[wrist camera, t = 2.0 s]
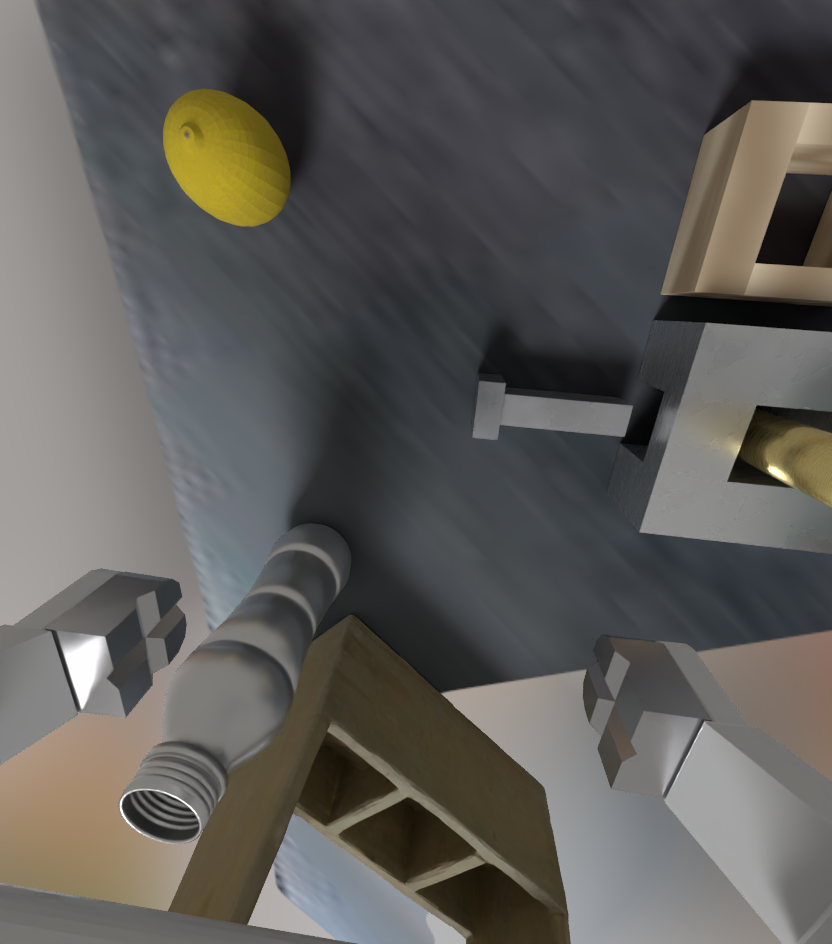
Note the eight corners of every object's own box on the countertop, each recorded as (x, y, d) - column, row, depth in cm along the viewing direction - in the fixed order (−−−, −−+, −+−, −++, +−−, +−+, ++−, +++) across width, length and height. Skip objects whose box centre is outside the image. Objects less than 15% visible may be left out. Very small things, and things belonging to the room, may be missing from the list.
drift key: (620, 385, 27) (642, 395, 24) (607, 436, 29) (625, 452, 26) (477, 372, 28) (479, 380, 25) (471, 423, 30) (472, 437, 26)
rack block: (900, 144, 22) (990, 109, 18) (832, 306, 25) (897, 306, 21) (703, 135, 22) (751, 100, 19) (660, 294, 25) (694, 291, 22)
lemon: (312, 237, 26) (253, 208, 19) (230, 235, 27) (140, 207, 19) (306, 130, 24) (237, 51, 17) (217, 130, 25) (111, 54, 17)
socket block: (855, 335, 25) (968, 342, 19) (776, 509, 29) (849, 555, 24) (653, 319, 26) (706, 322, 20) (606, 491, 30) (639, 532, 25)
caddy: (548, 786, 43) (706, 1650, 15) (470, 819, 46) (482, 1575, 19) (354, 609, 37) (34, 1504, 9) (280, 662, 40) (-115, 1431, 13)
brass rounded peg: (750, 401, 27) (982, 473, 15) (734, 444, 28) (937, 543, 16) (703, 397, 27) (895, 465, 15) (689, 439, 28) (856, 535, 16)
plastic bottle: (369, 533, 34) (258, 803, 15) (340, 592, 36) (215, 883, 18) (298, 500, 33) (94, 737, 15) (273, 562, 36) (74, 829, 17)
